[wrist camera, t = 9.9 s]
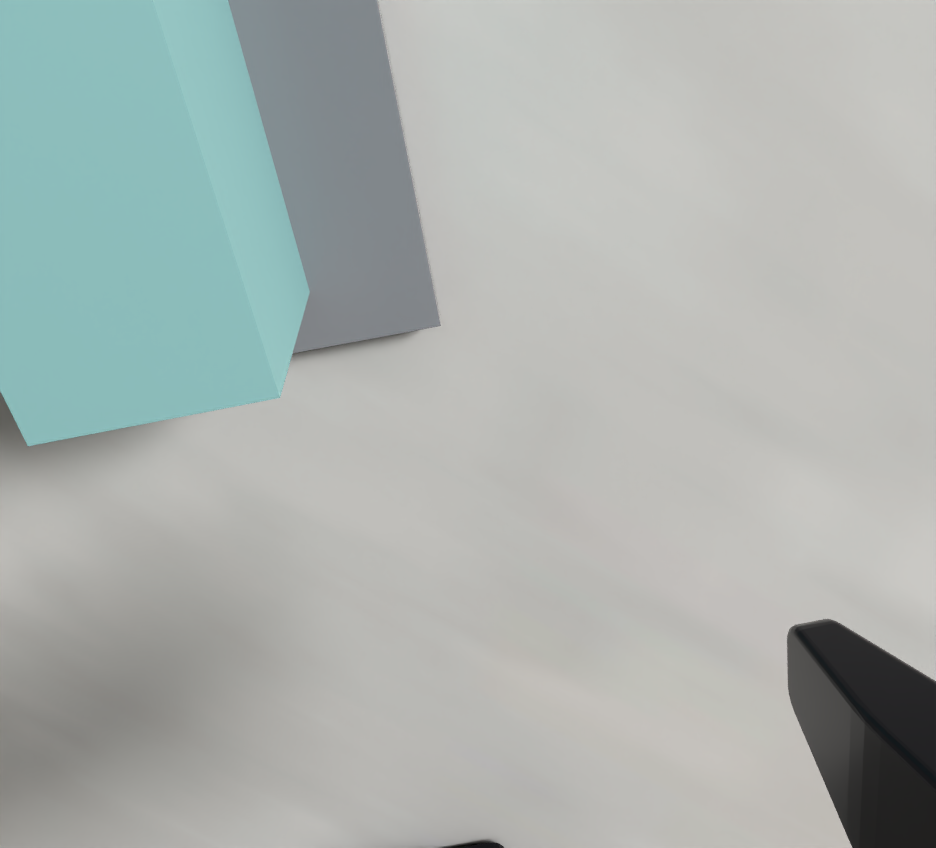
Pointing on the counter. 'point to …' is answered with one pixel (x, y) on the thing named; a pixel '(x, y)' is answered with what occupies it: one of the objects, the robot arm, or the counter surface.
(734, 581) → the counter surface
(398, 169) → the coaster
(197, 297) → the block
